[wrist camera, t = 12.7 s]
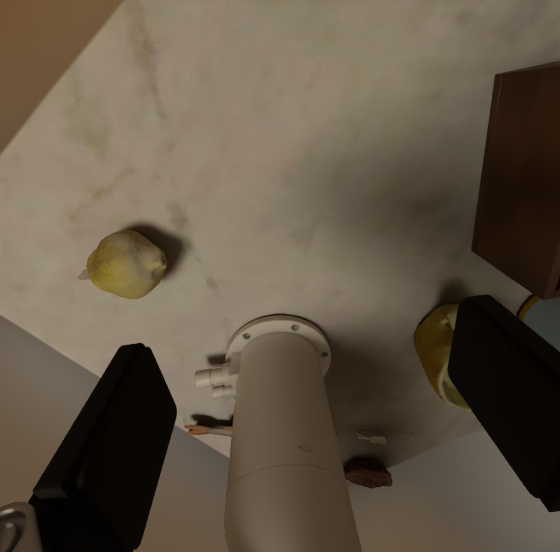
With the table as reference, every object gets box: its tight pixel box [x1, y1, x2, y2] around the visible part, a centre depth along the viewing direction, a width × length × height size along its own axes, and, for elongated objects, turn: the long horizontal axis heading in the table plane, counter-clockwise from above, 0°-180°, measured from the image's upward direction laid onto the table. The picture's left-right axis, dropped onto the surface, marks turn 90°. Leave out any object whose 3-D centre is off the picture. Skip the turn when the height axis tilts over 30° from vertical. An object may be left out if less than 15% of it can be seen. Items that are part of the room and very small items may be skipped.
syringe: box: [356, 426, 414, 445], centre depth 45 cm, size 10×2×2 cm, turn 74°
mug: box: [414, 303, 472, 412], centre depth 33 cm, size 12×10×10 cm
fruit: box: [78, 230, 167, 299], centre depth 28 cm, size 6×6×10 cm
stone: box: [343, 459, 392, 488], centre depth 49 cm, size 7×7×3 cm
